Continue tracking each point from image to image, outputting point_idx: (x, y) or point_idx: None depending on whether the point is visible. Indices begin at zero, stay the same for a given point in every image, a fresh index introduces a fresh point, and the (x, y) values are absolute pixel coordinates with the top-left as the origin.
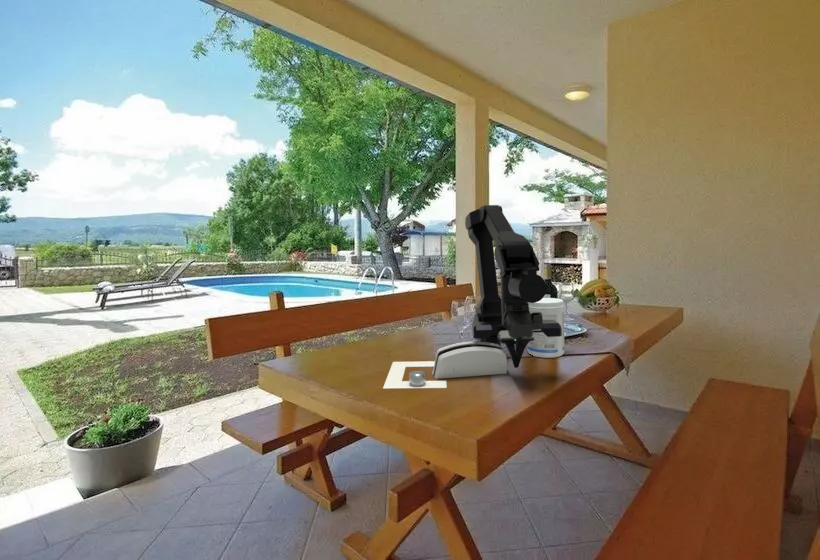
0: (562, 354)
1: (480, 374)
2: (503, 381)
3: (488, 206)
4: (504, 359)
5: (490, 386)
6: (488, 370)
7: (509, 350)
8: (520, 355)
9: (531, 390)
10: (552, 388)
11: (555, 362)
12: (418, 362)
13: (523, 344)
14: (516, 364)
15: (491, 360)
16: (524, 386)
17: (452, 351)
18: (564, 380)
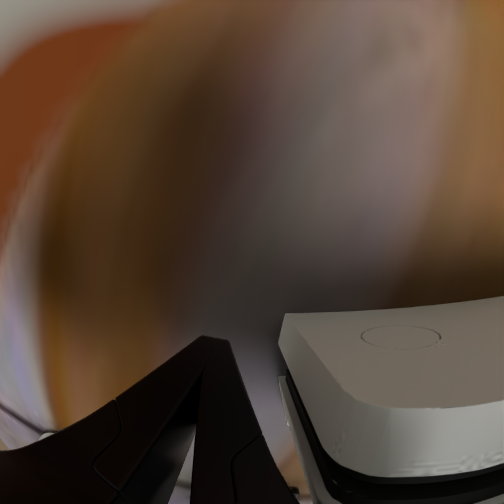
0: (43, 434)
1: (464, 312)
2: (324, 278)
3: None
4: (357, 371)
5: (432, 205)
6: (440, 322)
7: (279, 476)
8: (143, 394)
9: (207, 70)
10: (85, 102)
11: (53, 409)
12: None
13: (37, 480)
14: (210, 350)
15: (480, 349)
16: (223, 150)
17: None
18: (19, 224)
